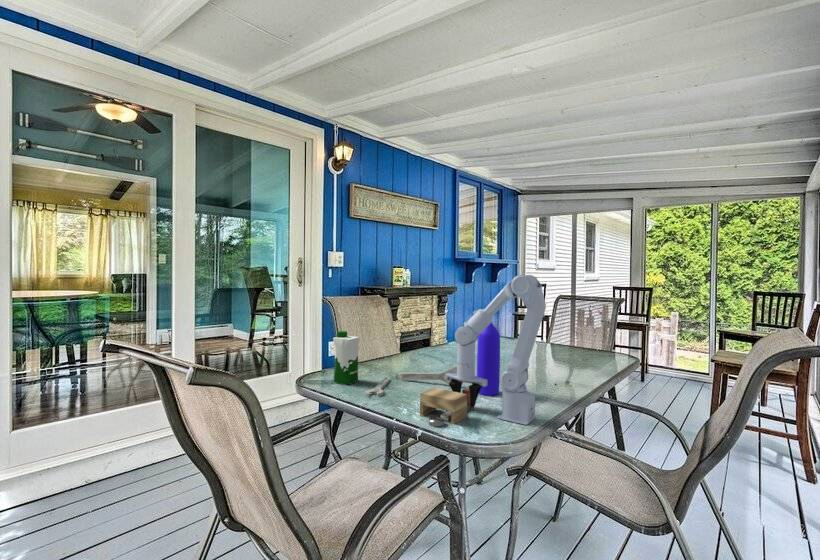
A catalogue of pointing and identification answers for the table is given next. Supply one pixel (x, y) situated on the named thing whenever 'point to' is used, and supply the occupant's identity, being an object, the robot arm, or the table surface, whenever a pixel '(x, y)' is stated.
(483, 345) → the bottle
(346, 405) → the table surface
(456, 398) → the wooden bridge block
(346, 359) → the milk carton
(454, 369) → the wrench
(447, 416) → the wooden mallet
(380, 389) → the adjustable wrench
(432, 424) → the token
